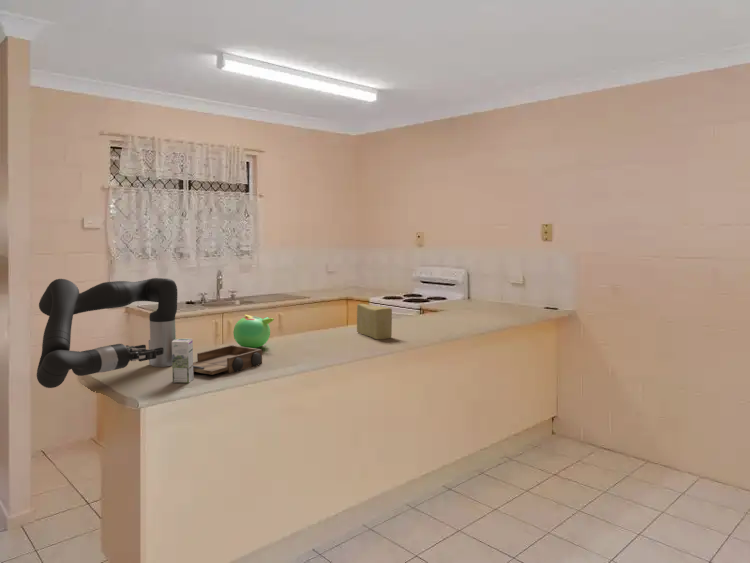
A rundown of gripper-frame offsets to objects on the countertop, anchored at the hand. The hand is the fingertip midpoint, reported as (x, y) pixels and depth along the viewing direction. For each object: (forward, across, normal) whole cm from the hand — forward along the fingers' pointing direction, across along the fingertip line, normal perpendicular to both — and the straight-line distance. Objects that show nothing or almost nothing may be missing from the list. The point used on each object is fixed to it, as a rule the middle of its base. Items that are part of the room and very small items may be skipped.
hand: (153, 349), depth 186 cm
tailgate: (+24, -3, -12) cm, 27 cm away
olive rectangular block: (+119, +10, -12) cm, 120 cm away
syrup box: (+12, -1, -14) cm, 18 cm away
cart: (+37, -3, -13) cm, 39 cm away
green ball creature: (+67, -18, -13) cm, 71 cm away
